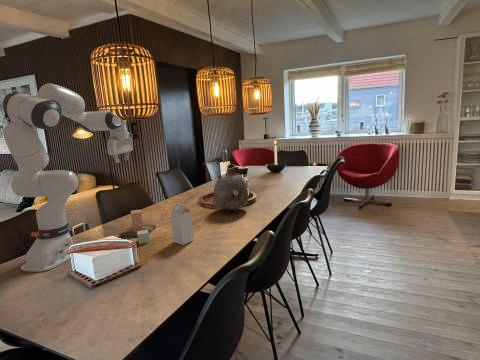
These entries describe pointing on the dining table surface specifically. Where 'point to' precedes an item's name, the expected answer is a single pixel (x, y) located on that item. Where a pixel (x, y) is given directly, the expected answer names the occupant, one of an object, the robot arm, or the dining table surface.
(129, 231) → the walnut board
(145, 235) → the sage block
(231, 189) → the jug
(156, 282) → the dining table surface
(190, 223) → the milk carton
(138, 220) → the terracotta block
